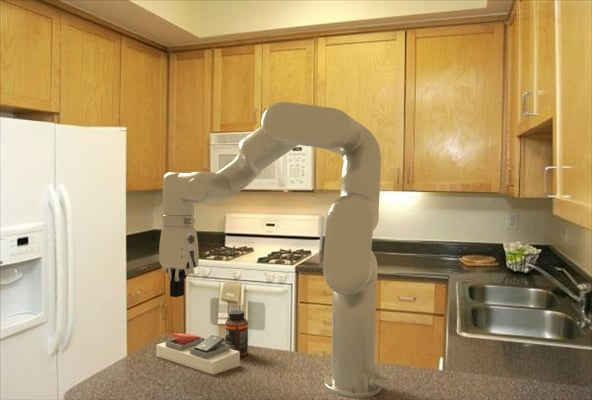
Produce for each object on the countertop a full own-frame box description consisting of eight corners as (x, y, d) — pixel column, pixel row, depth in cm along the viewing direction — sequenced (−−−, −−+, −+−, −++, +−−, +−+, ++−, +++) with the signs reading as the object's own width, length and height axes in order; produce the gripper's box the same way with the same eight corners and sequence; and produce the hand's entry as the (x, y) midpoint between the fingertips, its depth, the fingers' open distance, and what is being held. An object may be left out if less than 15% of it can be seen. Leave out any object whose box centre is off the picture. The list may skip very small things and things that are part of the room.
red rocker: (198, 345, 118) (200, 336, 118) (180, 344, 113) (182, 335, 113) (187, 342, 120) (189, 333, 120) (169, 341, 115) (171, 332, 116)
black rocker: (225, 345, 113) (223, 337, 112) (208, 358, 108) (206, 350, 108) (213, 342, 115) (212, 334, 115) (196, 355, 110) (194, 346, 110)
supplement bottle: (251, 351, 123) (251, 309, 123) (242, 359, 118) (243, 315, 117) (230, 349, 125) (231, 308, 125) (221, 357, 119) (221, 313, 119)
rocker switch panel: (239, 367, 112) (239, 346, 112) (212, 379, 105) (212, 357, 105) (183, 350, 124) (184, 331, 123) (156, 360, 116) (156, 340, 116)
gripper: (210, 223, 113) (209, 297, 113) (170, 220, 122) (169, 289, 122) (187, 224, 107) (185, 303, 107) (146, 221, 115) (145, 294, 116)
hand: (177, 295), depth 115 cm, fingers closed
